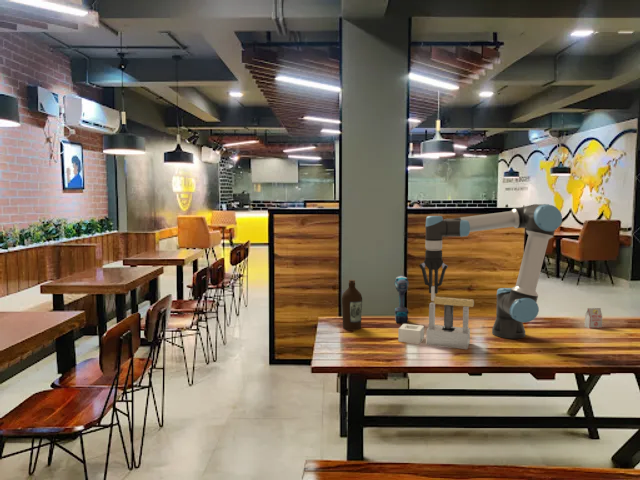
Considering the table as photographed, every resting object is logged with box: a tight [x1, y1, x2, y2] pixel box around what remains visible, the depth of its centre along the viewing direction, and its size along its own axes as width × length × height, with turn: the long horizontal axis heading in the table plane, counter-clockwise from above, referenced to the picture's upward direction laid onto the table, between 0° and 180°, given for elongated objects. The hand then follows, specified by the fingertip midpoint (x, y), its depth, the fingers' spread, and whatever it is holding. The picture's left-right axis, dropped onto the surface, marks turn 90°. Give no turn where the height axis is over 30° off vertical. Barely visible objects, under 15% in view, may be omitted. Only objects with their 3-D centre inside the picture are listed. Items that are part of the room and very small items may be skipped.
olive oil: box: [341, 279, 363, 331], centre depth 242 cm, size 11×11×25 cm
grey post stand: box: [425, 301, 471, 350], centre depth 214 cm, size 18×10×18 cm, turn 67°
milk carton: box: [584, 307, 603, 329], centre depth 243 cm, size 4×7×10 cm, turn 94°
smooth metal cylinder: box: [443, 304, 454, 331], centre depth 214 cm, size 4×4×16 cm
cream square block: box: [397, 323, 425, 345], centre depth 222 cm, size 10×10×6 cm
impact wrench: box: [393, 274, 410, 324], centre depth 256 cm, size 8×23×25 cm, turn 174°
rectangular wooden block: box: [433, 296, 475, 308], centre depth 213 cm, size 17×4×2 cm, turn 67°
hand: (433, 300), depth 216 cm, fingers closed
